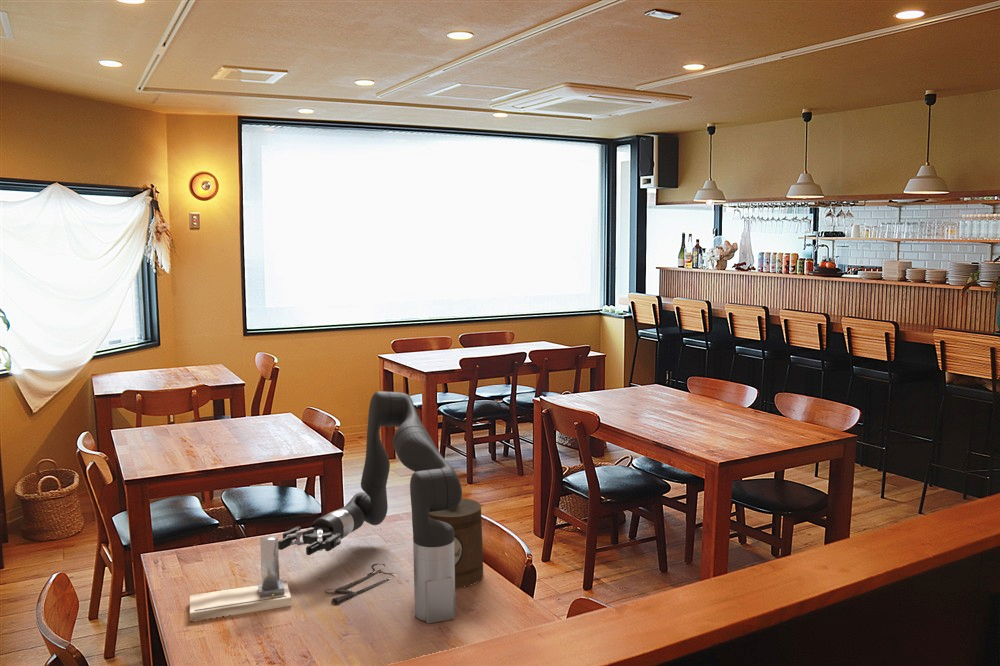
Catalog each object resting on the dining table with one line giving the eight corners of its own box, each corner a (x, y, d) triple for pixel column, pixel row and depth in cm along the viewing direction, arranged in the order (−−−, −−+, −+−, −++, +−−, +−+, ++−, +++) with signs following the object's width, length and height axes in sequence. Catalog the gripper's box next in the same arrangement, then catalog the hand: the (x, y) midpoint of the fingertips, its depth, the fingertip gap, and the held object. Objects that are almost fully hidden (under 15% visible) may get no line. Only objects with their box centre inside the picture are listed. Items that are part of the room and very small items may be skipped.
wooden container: (411, 577, 208) (409, 492, 205) (454, 560, 218) (453, 479, 216) (453, 594, 198) (451, 505, 195) (495, 575, 208) (494, 490, 206)
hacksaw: (335, 607, 192) (335, 601, 192) (306, 596, 198) (305, 590, 198) (407, 573, 211) (407, 567, 211) (378, 564, 217) (378, 558, 217)
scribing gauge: (285, 596, 193) (282, 542, 191) (260, 600, 191) (258, 545, 189) (282, 585, 199) (279, 533, 197) (258, 588, 197) (255, 536, 195)
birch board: (291, 605, 192) (291, 597, 192) (190, 621, 185) (189, 613, 184) (286, 588, 202) (286, 580, 201) (190, 603, 194) (189, 595, 194)
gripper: (310, 509, 219) (269, 529, 205) (355, 517, 213) (316, 538, 199) (311, 537, 220) (270, 559, 205) (356, 545, 214) (317, 568, 200)
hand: (293, 548), depth 202 cm, fingers open, 8 cm apart
